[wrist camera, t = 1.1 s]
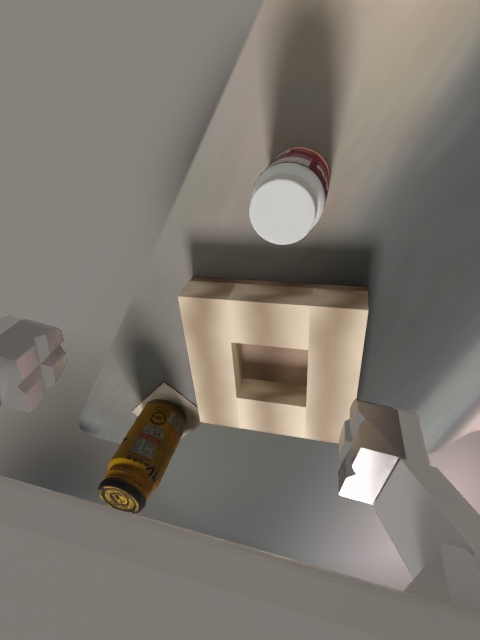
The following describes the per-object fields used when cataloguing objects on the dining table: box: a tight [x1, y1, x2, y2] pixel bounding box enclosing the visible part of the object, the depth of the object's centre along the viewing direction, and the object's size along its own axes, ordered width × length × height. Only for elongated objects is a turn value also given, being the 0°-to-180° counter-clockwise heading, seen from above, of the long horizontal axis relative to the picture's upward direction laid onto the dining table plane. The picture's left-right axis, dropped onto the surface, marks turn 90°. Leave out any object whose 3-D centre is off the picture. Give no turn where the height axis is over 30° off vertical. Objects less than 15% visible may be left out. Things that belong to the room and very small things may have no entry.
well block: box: [178, 277, 368, 443], centre depth 38 cm, size 16×16×4 cm
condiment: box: [98, 383, 204, 514], centre depth 44 cm, size 7×8×12 cm
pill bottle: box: [249, 147, 330, 245], centre depth 26 cm, size 5×5×8 cm
